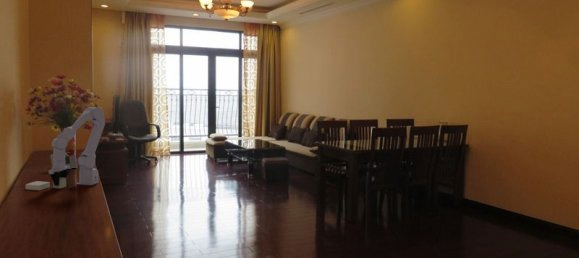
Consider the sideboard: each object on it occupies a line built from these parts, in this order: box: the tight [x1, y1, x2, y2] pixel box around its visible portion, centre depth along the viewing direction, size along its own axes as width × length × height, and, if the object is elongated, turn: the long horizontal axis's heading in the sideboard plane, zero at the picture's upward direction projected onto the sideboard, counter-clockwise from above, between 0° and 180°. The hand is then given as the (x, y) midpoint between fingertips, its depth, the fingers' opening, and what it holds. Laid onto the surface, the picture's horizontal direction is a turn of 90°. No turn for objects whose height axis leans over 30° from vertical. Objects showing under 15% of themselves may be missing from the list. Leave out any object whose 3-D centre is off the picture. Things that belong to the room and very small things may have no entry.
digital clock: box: [49, 152, 79, 170], centre depth 276 cm, size 16×9×11 cm, turn 133°
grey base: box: [25, 180, 51, 191], centre depth 228 cm, size 8×8×3 cm
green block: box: [52, 177, 67, 189], centre depth 231 cm, size 4×4×5 cm
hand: (59, 184), depth 231 cm, fingers closed on green block, 4 cm apart
